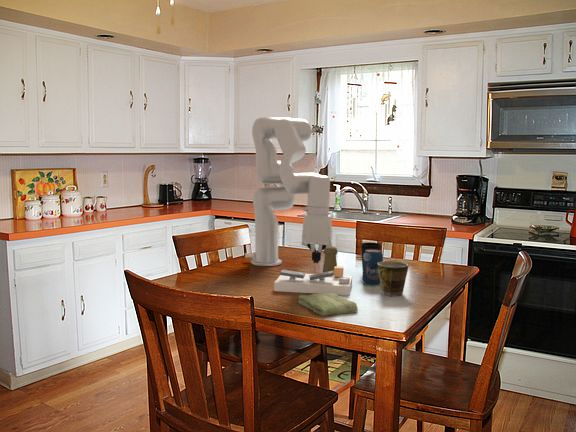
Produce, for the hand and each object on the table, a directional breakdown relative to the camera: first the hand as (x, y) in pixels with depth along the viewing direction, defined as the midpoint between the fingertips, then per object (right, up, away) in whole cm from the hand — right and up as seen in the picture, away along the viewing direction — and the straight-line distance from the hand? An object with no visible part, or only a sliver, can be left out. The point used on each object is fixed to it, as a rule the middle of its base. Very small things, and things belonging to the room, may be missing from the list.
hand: (316, 262), depth 193 cm
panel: (-1, -8, -4) cm, 9 cm away
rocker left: (-8, -3, -7) cm, 11 cm away
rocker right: (+2, -4, -9) cm, 10 cm away
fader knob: (+8, -5, -2) cm, 9 cm away
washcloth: (+2, -12, -27) cm, 30 cm away
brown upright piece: (+6, -6, +15) cm, 17 cm away
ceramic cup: (+24, -10, -12) cm, 28 cm away
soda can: (+20, -8, +2) cm, 22 cm away
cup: (+21, -6, +15) cm, 27 cm away
